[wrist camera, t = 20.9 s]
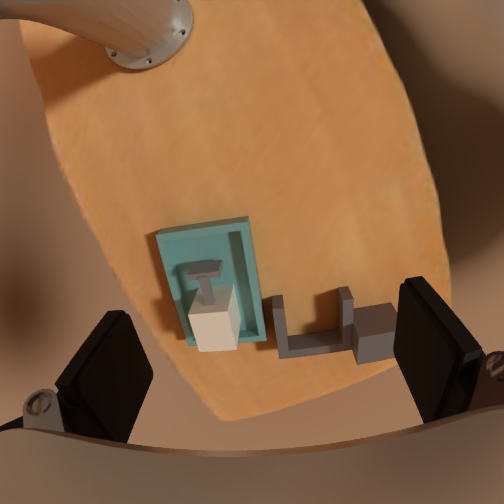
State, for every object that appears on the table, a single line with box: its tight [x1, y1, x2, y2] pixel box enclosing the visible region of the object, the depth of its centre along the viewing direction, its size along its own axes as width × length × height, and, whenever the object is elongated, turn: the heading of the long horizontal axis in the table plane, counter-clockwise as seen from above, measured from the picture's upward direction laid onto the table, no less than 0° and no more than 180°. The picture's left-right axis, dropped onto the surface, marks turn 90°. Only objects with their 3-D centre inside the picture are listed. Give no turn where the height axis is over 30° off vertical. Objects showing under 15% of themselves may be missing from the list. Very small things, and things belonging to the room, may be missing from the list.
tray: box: [156, 216, 267, 346], centre depth 42 cm, size 18×12×2 cm, turn 9°
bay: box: [272, 286, 397, 365], centre depth 41 cm, size 9×18×7 cm, turn 99°
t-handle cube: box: [187, 260, 241, 352], centre depth 40 cm, size 10×5×7 cm, turn 9°
